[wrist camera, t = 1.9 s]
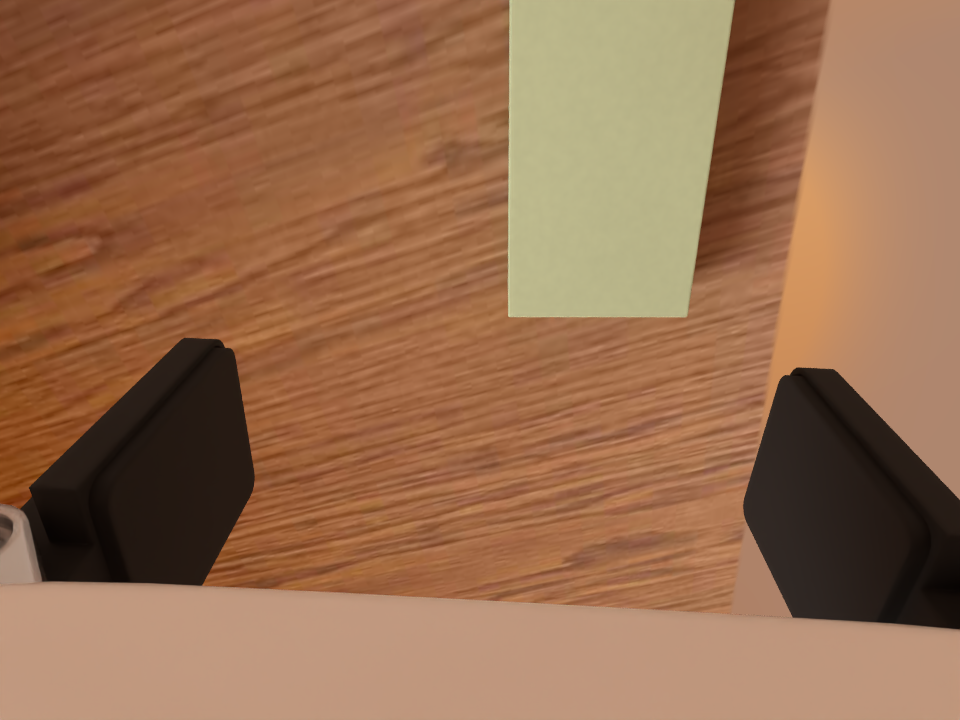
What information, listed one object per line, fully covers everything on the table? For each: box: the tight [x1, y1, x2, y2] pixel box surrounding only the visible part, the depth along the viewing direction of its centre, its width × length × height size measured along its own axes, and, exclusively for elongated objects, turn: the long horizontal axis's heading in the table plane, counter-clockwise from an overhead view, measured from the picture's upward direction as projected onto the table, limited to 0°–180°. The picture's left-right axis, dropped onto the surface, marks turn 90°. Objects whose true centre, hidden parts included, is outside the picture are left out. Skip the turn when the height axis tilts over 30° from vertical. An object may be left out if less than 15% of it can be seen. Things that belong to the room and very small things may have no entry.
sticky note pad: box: [508, 0, 735, 317], centre depth 22 cm, size 12×7×3 cm, turn 1°
